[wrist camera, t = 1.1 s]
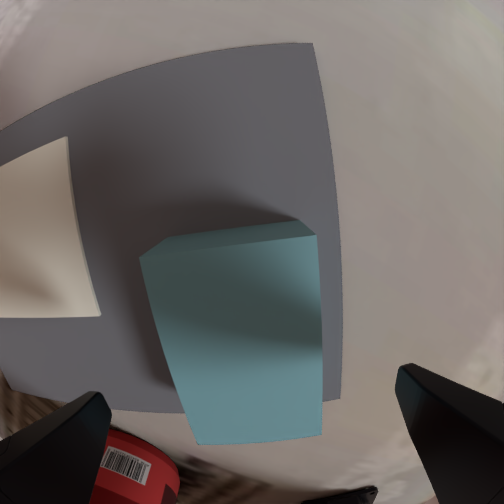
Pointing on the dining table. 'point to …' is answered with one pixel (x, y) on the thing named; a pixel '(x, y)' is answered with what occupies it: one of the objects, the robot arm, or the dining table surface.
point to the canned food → (134, 473)
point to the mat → (153, 211)
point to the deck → (241, 330)
